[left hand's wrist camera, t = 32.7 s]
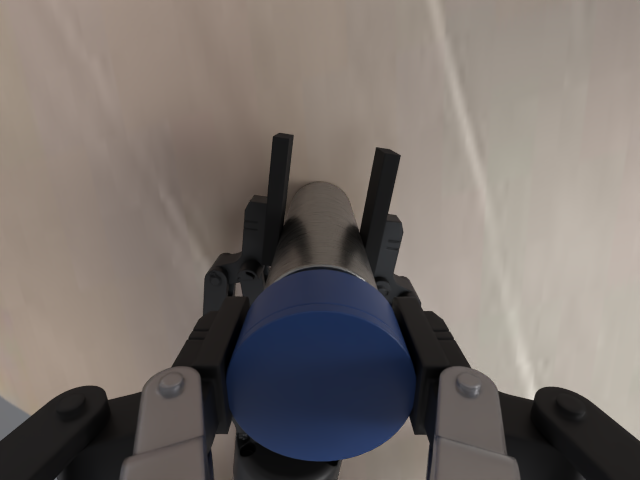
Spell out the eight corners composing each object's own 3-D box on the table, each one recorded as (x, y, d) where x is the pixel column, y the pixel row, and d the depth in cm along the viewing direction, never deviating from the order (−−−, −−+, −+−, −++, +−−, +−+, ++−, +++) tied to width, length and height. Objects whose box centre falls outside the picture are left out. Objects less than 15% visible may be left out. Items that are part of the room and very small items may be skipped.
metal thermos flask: (298, 246, 26) (268, 431, 11) (282, 189, 25) (224, 314, 10) (356, 233, 26) (407, 407, 11) (344, 175, 24) (383, 281, 9)
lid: (366, 413, 12) (376, 477, 10) (228, 378, 12) (207, 439, 10) (423, 294, 11) (449, 341, 9) (264, 248, 10) (249, 286, 8)
